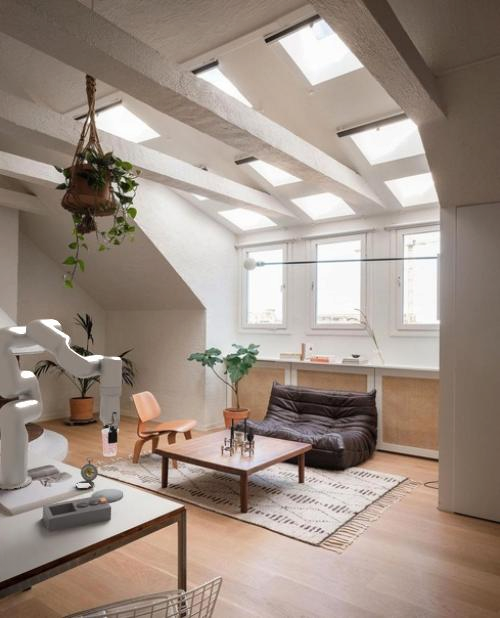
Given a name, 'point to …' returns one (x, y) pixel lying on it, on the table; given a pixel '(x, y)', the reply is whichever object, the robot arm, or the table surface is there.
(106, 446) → the beverage cup
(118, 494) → the slate mat
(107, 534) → the table surface
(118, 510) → the table surface
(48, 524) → the gray desk organizer
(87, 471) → the pocket watch
